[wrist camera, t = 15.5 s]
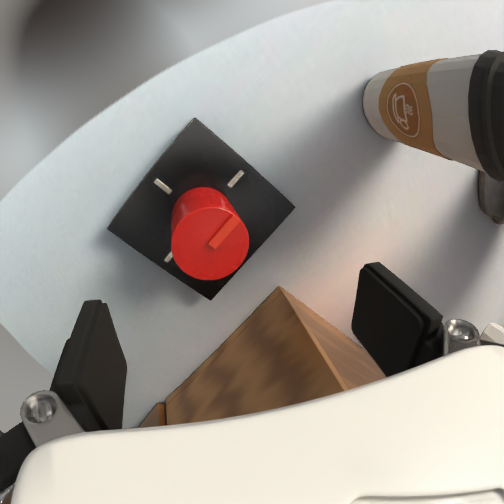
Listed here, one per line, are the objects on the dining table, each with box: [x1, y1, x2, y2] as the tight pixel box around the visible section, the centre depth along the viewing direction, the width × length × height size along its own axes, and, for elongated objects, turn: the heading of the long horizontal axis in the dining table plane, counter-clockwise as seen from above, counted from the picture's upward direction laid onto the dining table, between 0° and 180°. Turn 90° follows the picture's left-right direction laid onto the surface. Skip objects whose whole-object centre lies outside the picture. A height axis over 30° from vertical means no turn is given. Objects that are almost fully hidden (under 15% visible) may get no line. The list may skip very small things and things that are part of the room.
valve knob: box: [171, 187, 249, 280], centre depth 20 cm, size 4×4×6 cm
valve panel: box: [107, 118, 295, 300], centre depth 23 cm, size 10×10×2 cm
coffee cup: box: [363, 50, 504, 181], centre depth 17 cm, size 8×8×15 cm
